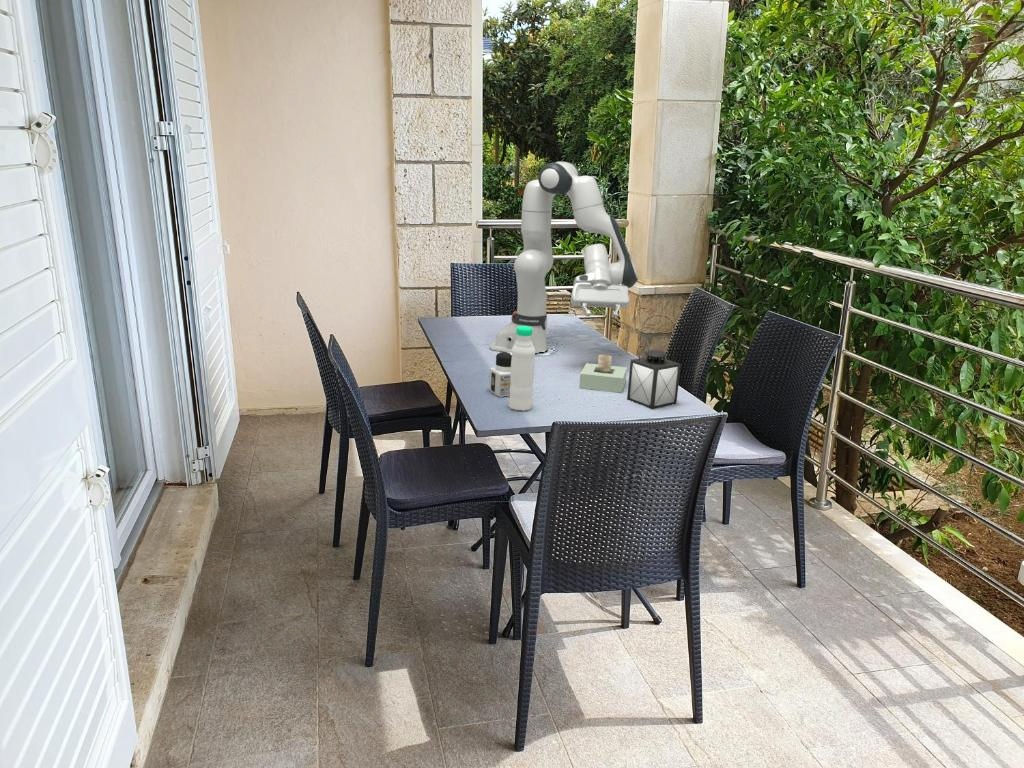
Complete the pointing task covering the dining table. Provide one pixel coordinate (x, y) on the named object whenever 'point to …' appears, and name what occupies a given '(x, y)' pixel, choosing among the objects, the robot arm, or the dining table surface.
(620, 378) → the hole block
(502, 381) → the container
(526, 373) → the water bottle
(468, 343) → the dining table surface
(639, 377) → the lantern
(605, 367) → the peg
